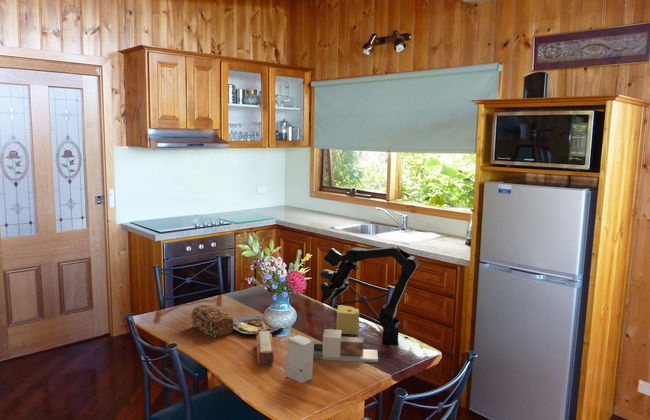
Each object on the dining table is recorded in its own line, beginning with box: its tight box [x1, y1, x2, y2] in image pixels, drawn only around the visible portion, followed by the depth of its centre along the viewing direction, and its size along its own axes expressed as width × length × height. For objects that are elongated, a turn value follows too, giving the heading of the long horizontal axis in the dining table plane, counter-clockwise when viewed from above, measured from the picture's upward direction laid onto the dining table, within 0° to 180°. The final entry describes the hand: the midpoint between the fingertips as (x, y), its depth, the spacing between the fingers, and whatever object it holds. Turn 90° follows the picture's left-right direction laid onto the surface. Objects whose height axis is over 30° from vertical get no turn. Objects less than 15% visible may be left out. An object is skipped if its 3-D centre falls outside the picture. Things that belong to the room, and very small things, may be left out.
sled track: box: [313, 328, 379, 364], centre depth 217 cm, size 27×10×9 cm, turn 86°
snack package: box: [255, 331, 275, 367], centre depth 216 cm, size 21×7×7 cm, turn 8°
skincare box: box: [285, 334, 315, 384], centre depth 196 cm, size 8×6×15 cm
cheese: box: [335, 304, 360, 335], centre depth 245 cm, size 10×11×10 cm
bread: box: [190, 304, 234, 339], centre depth 240 cm, size 19×11×10 cm, turn 45°
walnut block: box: [340, 336, 364, 356], centre depth 217 cm, size 14×5×6 cm, turn 86°
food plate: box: [233, 314, 275, 336], centre depth 245 cm, size 25×23×4 cm
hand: (326, 300), depth 242 cm, fingers open, 9 cm apart
